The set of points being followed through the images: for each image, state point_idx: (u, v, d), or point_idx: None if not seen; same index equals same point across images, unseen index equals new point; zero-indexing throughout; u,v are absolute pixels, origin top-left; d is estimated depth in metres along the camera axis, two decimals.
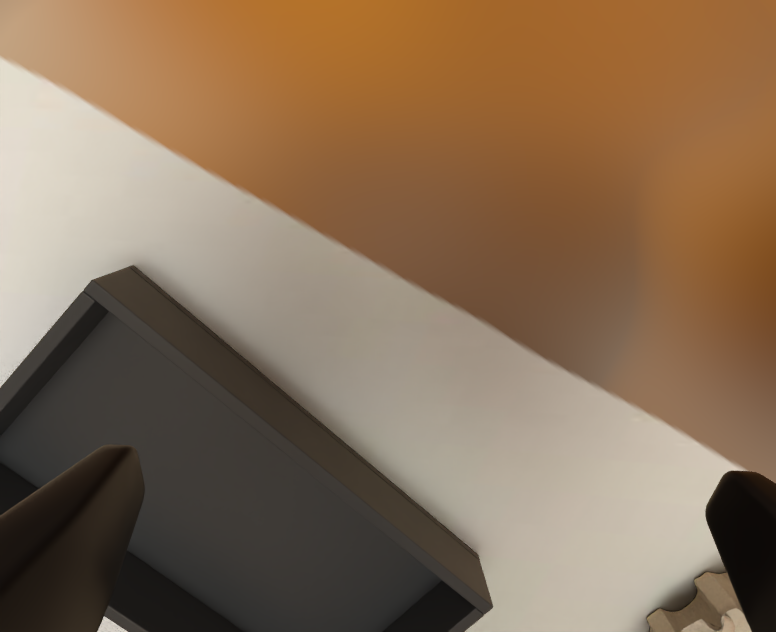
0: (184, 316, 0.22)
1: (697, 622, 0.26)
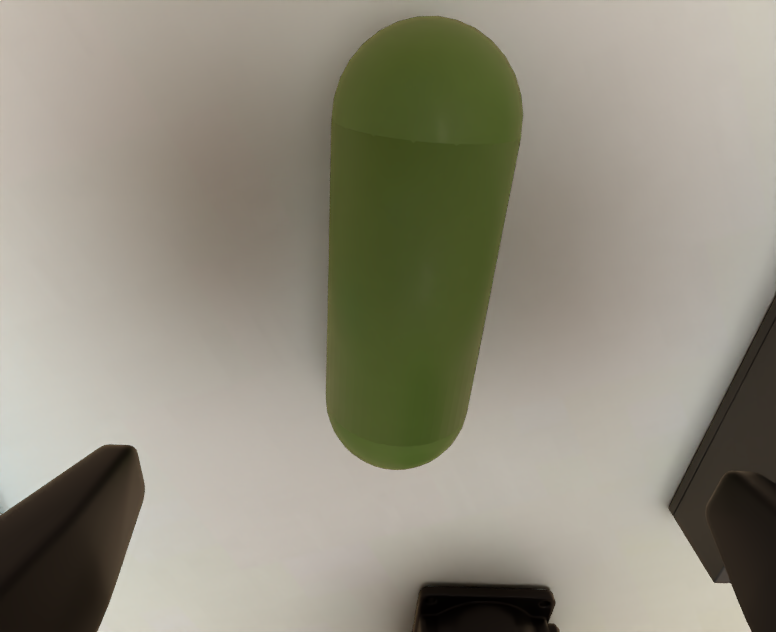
0: None
1: None
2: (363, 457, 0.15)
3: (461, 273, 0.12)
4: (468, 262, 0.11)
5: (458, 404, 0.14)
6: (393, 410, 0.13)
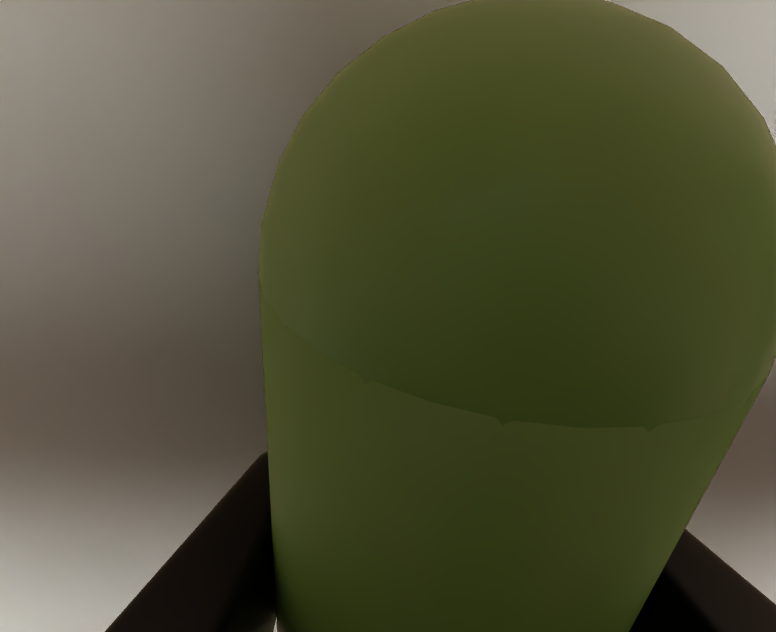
0: None
1: None
2: None
3: None
4: None
5: None
6: None
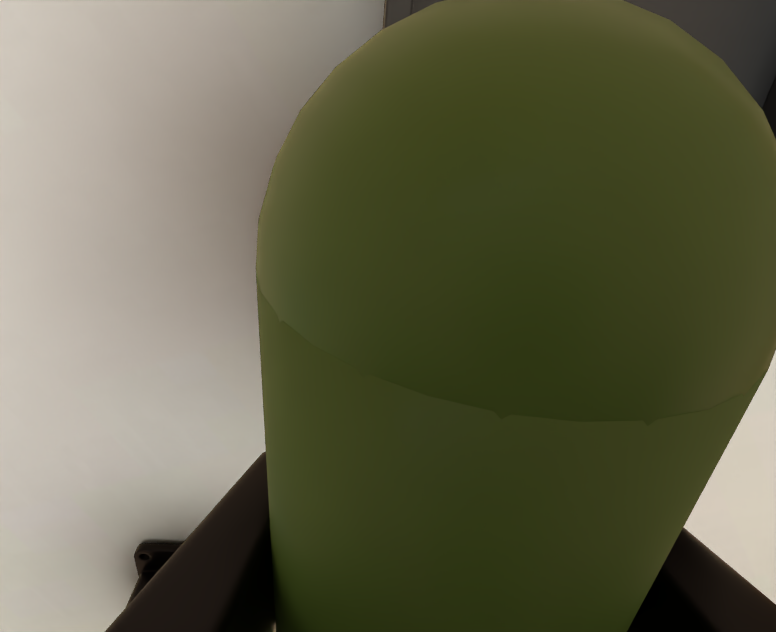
0: None
1: None
2: None
3: None
4: None
5: None
6: None
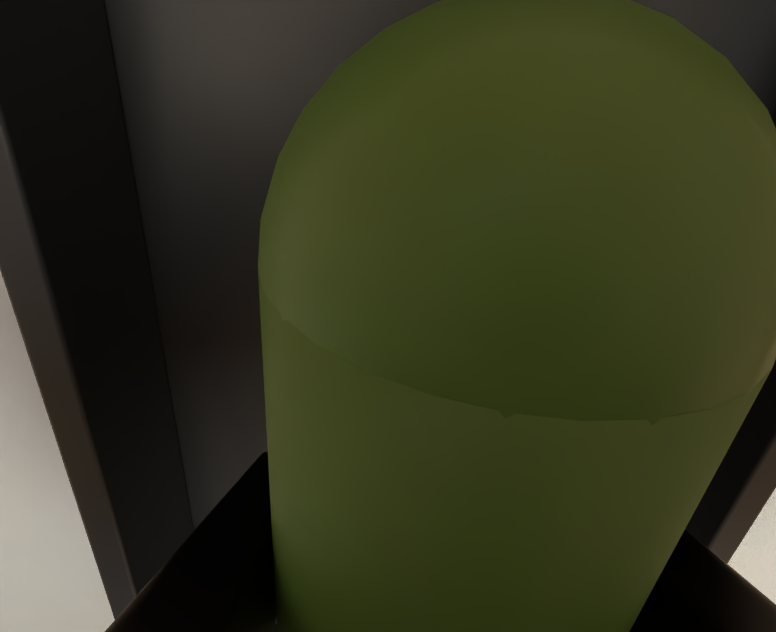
0: None
1: None
2: None
3: None
4: None
5: None
6: None
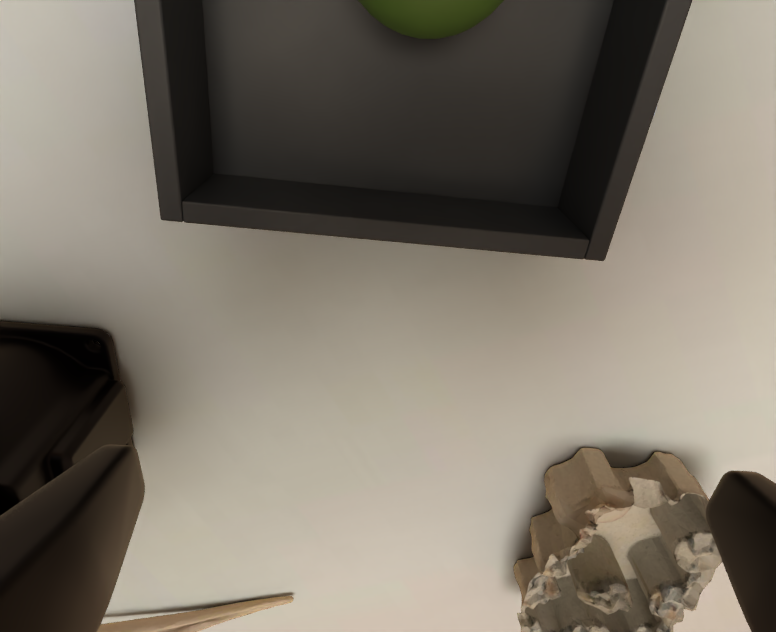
0: None
1: (652, 482, 0.20)
2: None
3: None
4: None
5: None
6: None
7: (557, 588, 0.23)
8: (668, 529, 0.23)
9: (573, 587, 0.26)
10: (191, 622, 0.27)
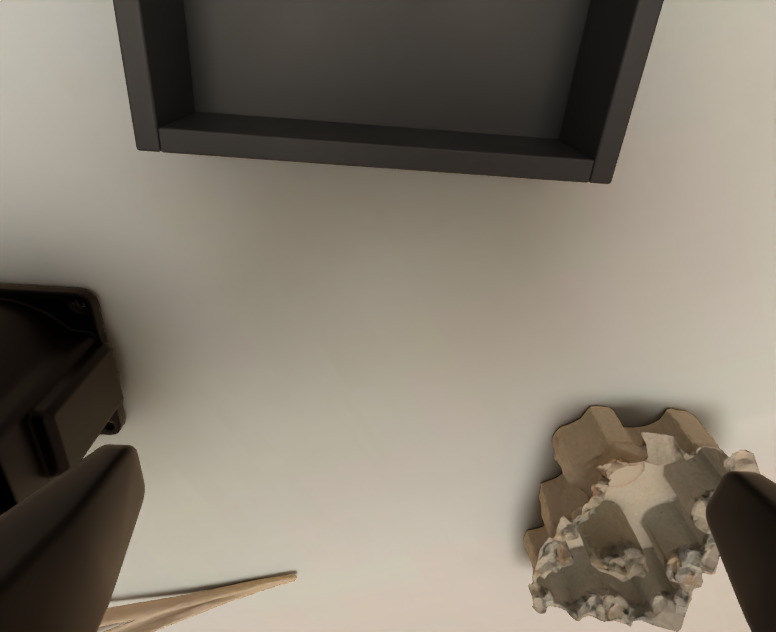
0: None
1: (666, 436, 0.19)
2: None
3: None
4: None
5: None
6: None
7: (569, 555, 0.22)
8: (684, 490, 0.22)
9: (586, 557, 0.25)
10: (192, 604, 0.26)
